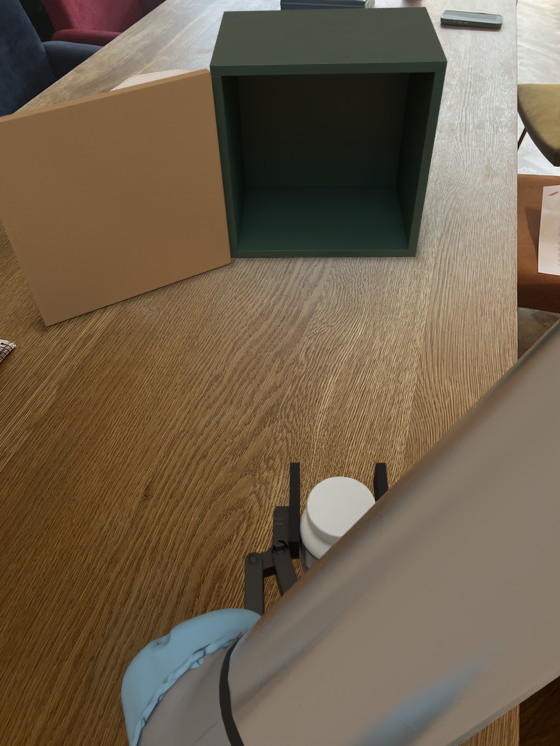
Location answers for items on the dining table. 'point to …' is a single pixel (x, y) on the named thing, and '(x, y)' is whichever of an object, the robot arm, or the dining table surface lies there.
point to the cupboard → (326, 129)
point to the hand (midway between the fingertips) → (337, 472)
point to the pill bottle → (330, 516)
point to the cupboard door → (114, 193)
